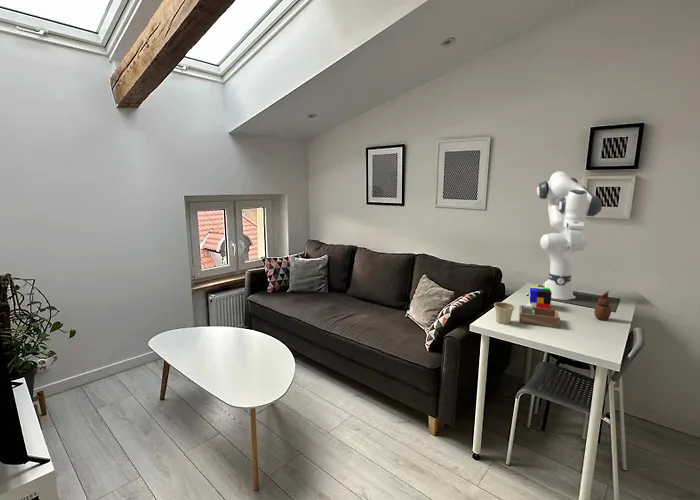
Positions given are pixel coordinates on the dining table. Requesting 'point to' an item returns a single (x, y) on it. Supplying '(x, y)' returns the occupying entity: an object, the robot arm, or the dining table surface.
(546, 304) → the puzzle toy
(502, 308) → the flower pot
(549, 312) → the walled box
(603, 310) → the wooden figurine
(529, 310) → the connector
